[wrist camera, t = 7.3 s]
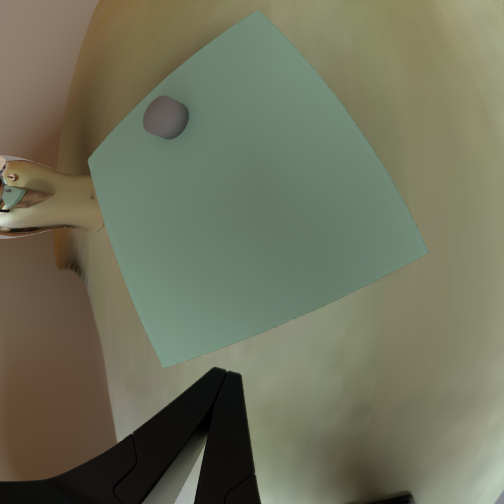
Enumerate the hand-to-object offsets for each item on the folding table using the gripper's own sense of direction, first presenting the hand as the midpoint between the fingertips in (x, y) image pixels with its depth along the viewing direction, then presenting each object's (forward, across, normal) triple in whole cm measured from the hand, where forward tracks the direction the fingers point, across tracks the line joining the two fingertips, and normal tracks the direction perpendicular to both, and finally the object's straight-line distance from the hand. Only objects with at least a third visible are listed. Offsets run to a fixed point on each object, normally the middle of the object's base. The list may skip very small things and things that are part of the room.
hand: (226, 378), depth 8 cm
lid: (+8, +3, -3) cm, 9 cm away
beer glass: (+18, +19, +3) cm, 26 cm away
